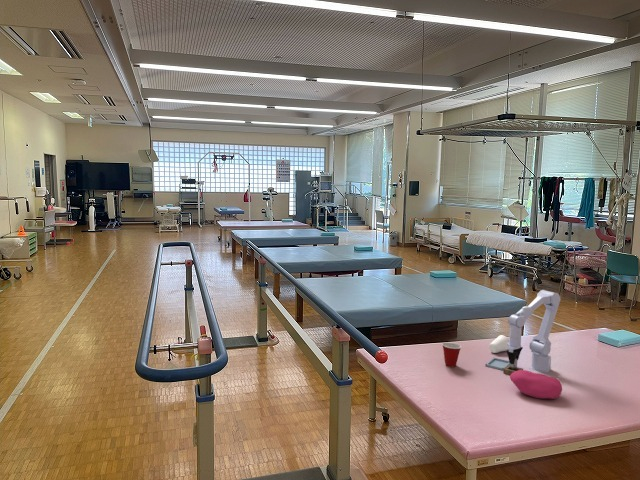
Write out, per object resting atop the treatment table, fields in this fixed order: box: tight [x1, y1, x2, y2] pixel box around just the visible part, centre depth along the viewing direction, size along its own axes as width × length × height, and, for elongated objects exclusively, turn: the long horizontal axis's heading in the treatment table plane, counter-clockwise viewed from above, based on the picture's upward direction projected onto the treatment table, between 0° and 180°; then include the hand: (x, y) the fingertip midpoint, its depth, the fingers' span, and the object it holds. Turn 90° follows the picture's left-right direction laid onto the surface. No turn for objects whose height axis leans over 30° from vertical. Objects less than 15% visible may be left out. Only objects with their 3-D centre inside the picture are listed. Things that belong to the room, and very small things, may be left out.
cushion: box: [509, 369, 563, 400], centre depth 227 cm, size 23×19×10 cm
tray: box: [485, 357, 510, 371], centre depth 263 cm, size 10×14×2 cm
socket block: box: [502, 365, 524, 376], centre depth 252 cm, size 8×8×3 cm
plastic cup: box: [441, 342, 462, 368], centre depth 263 cm, size 11×11×12 cm
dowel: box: [510, 358, 518, 371], centre depth 251 cm, size 3×3×8 cm
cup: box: [488, 334, 510, 354], centre depth 286 cm, size 10×10×11 cm
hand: (513, 361), depth 251 cm, fingers open, 7 cm apart
